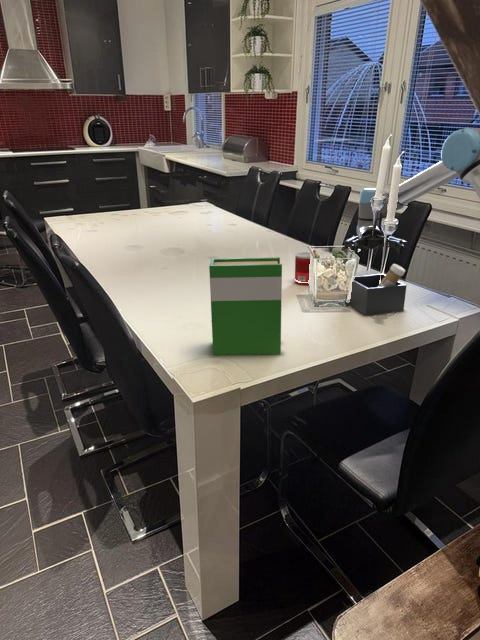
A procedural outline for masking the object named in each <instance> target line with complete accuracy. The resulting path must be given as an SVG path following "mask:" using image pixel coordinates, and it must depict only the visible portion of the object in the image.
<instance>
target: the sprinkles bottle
mask: <svg viewBox="0 0 480 640" xmlns="http://www.w3.org/2000/svg"><path fill="white" fill-rule="evenodd" d="M405 273H406V269H405V268H403V267H402V266H401V265H399V264H397V263H392V265H390V267H389V270H388V271H387V273H386V274H385V275H386V276H385V277H384V278H383V280H382V281H381V283H380V284H379V286H378V287H384V286H394V285H396V283H397V282H398V281H400V279H401V278H402V277H403V276H404V275H405Z"/></svg>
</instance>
